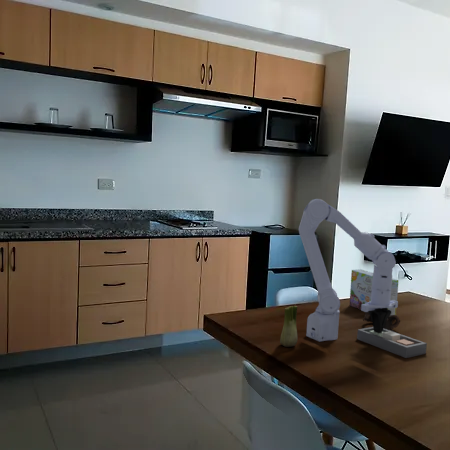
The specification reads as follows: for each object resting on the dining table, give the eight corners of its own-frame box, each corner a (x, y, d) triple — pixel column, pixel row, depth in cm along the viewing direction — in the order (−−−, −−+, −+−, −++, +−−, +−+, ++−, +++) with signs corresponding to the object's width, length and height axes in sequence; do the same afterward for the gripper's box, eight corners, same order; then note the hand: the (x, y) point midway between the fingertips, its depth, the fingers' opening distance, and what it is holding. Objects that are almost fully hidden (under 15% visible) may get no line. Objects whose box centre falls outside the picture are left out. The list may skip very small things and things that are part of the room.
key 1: (377, 342, 149) (378, 334, 149) (368, 338, 152) (369, 330, 152) (385, 340, 151) (386, 332, 151) (376, 337, 154) (377, 329, 154)
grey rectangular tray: (405, 361, 138) (406, 347, 137) (356, 342, 153) (357, 329, 152) (425, 356, 142) (426, 343, 142) (376, 338, 158) (377, 326, 157)
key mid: (391, 343, 145) (392, 336, 145) (381, 340, 148) (382, 332, 148) (399, 342, 147) (400, 334, 147) (389, 338, 150) (390, 331, 150)
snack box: (347, 305, 200) (350, 269, 198) (358, 305, 202) (361, 269, 201) (385, 320, 181) (388, 279, 179) (396, 319, 183) (400, 279, 182)
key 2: (405, 352, 141) (406, 344, 141) (395, 348, 144) (395, 340, 144) (413, 350, 143) (414, 342, 143) (403, 347, 146) (403, 339, 146)
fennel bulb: (293, 342, 149) (295, 303, 148) (301, 348, 144) (304, 308, 143) (276, 343, 147) (278, 304, 146) (283, 349, 142) (286, 308, 141)
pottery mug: (363, 334, 163) (360, 310, 167) (367, 339, 171) (364, 316, 175) (401, 330, 159) (397, 305, 163) (403, 336, 167) (399, 312, 171)
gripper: (375, 293, 143) (372, 338, 144) (407, 289, 151) (403, 332, 152) (357, 288, 149) (353, 332, 150) (388, 285, 157) (385, 326, 158)
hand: (377, 332), depth 151 cm, fingers closed, pressing on key 1
